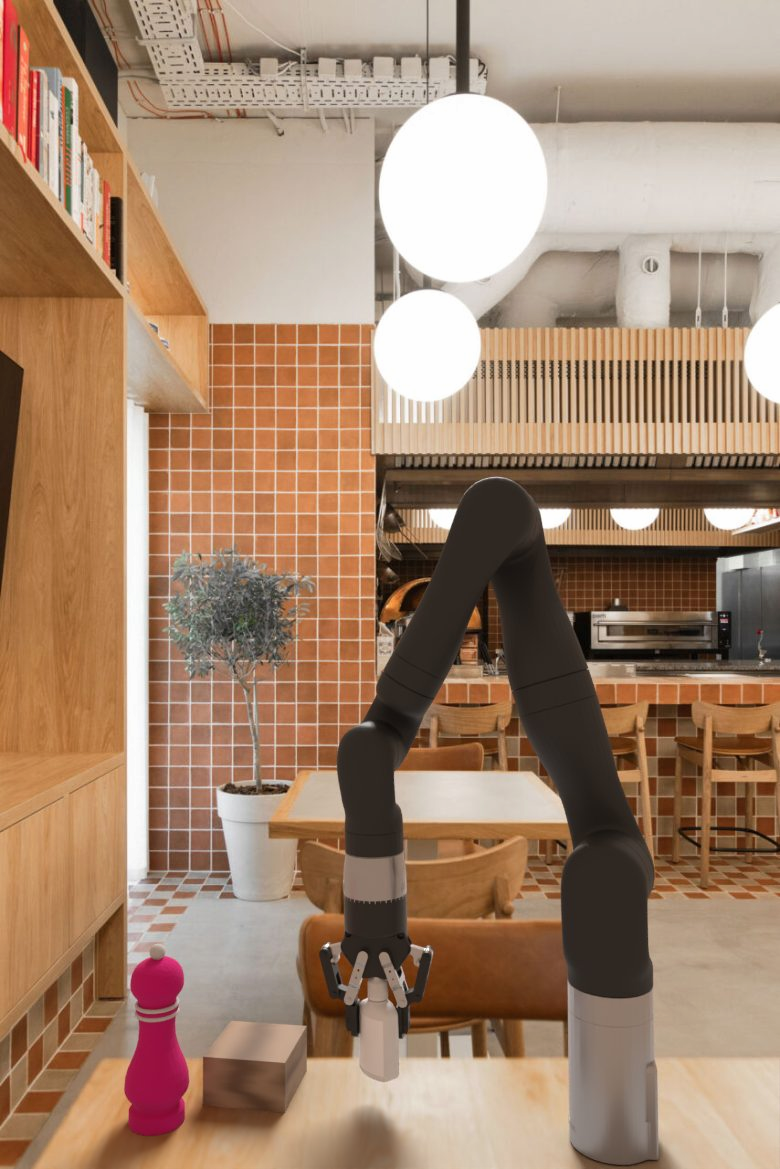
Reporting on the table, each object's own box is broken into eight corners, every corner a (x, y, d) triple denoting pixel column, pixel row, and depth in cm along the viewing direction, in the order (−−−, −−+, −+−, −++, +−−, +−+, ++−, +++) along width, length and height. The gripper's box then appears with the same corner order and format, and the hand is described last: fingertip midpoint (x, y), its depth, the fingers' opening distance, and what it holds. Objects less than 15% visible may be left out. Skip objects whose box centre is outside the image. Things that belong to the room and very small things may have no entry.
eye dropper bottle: (362, 1085, 107) (361, 978, 107) (358, 1063, 112) (356, 961, 113) (400, 1082, 107) (398, 975, 108) (394, 1061, 113) (392, 959, 114)
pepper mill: (172, 1142, 102) (173, 957, 103) (112, 1135, 104) (113, 953, 104) (199, 1108, 109) (199, 935, 110) (142, 1102, 111) (142, 931, 112)
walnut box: (306, 1074, 118) (306, 1025, 118) (285, 1115, 108) (285, 1062, 108) (231, 1068, 120) (231, 1020, 120) (202, 1108, 110) (203, 1056, 110)
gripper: (438, 882, 114) (441, 1024, 113) (323, 879, 116) (326, 1019, 115) (431, 900, 106) (434, 1052, 106) (309, 897, 109) (311, 1046, 108)
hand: (377, 1034), depth 111 cm, fingers closed on eye dropper bottle, 4 cm apart
